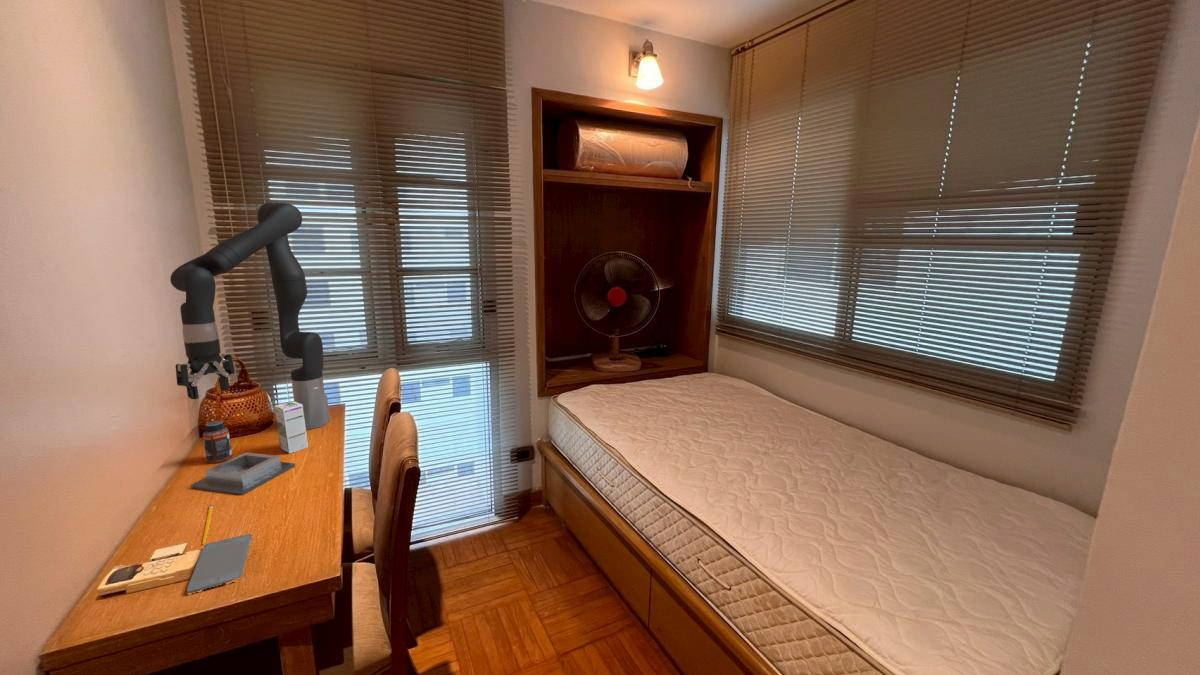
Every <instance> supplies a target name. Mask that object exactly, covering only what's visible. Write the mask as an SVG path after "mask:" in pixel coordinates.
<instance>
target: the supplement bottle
mask: <svg viewBox="0 0 1200 675" xmlns="http://www.w3.org/2000/svg"><path fill="white" fill-rule="evenodd" d="M230 437H231V436H230V432H229V429H228V428H227V427H225V426H224V421H222V420H217V421H210V422H208V423H206V424H205V431H203V433H202V440H203V445H204V452H205V458H206V462H207V463H208V464H217V463H224V462H226V461H228V460H230V459H232V457H233V451H232V444H231V438H230Z"/></svg>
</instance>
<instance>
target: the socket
mask: <svg viewBox="0 0 1200 675" xmlns="http://www.w3.org/2000/svg"><path fill="white" fill-rule="evenodd" d="M291 468H292V469H293V468H296V463H293V462H286V461H281V457H280V455H279V456H278V455H273V454H265V453H264V454H263V453H256V452H255V453H254V452H243V453H241V454H239V455H237V456H235V457H233V458H232V457H231V458H230V459H228V460H226V461H223V462H220V464H217V465H216V466H213V467H210V468H208V469H206V470H205V475H206V477H205V478H204V477H203V479H200V480H198V481H196V482H194V483H191V485H190V486H191V489H195V490H203V491H209V492H215V493H218V492H219V493H223V494H225V493H226V494H232V495H240V496H244V495H246V494H248V493H249V492H251V491H253V490H255V489H257V488H259V487H260V486H263V485H264V484H266V483H268V482H269V480H270V481H271V480H274V479H275V478H277V477H279V476H280V474H281V475H282V474H285V473H286V472H288V471H290V470H291ZM289 469H290V470H289ZM267 481H268V482H267ZM258 486H259V487H258ZM256 487H257V488H256Z"/></svg>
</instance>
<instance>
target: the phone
mask: <svg viewBox="0 0 1200 675" xmlns="http://www.w3.org/2000/svg"><path fill="white" fill-rule="evenodd" d="M251 538H252V539H253V535H252V534H251V533H246V534H243V535H239V536H234V537H229V538H226V539H222V540H217V541H213V542H208V543H206V545H203V548H202V551H201V553H200V555H199V558H198V561H197V562H196V565H195V568H194V570H193V573H192V575H191V577H190V580H189V581H188V582H189V583H188V585H187V587H186V591H185V592H186V594H187V593H193V592H197V591H200V590H203V591H204V589H205V590H208V589H207V588H210V587H213V586H216V585H220V584H223V583H227V582H230V581H232V580H235V579H238V578H240V577H241V576H242V573H243V574H244V572H243V569H244V570H245V568H244V565H245V566H246V564H245V561H246V562H247V560H246V558H247V559H248V556H247V554H248V555H249V552H248V550H249V551H250V548H249V546H250V547H251V544H252V540H251ZM250 543H251V544H250ZM242 577H243V576H242ZM223 585H224V584H223ZM210 589H211V588H210Z"/></svg>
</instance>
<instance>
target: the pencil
mask: <svg viewBox="0 0 1200 675" xmlns="http://www.w3.org/2000/svg"><path fill="white" fill-rule="evenodd" d="M212 509H214V505H213V504H209V506H208V511H207V515H206V521H205V526H204V530H203V535H204V536H202V540H203V542H201V545H202V544H205V542H206V538H207V534H208V535H209V532H208V530H209V531H210V527H209V525H210V526H211V522H212V521H211V520H212V516H211V514H212V515H213V510H212ZM207 539H208V538H207Z"/></svg>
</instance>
